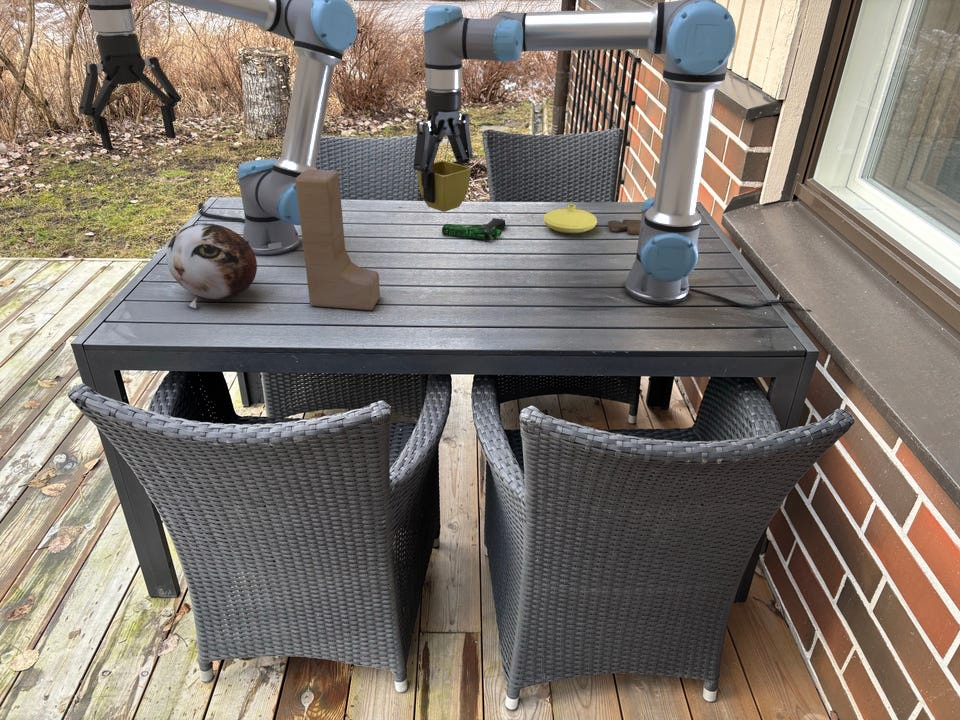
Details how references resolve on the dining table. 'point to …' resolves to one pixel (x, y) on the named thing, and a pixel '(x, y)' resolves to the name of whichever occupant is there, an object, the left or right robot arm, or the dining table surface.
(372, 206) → the dining table surface
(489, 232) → the handgun
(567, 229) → the yellow knobbed lid
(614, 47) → the right robot arm
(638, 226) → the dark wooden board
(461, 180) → the square tapered planter
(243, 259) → the cat face balloon
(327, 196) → the decorative block
